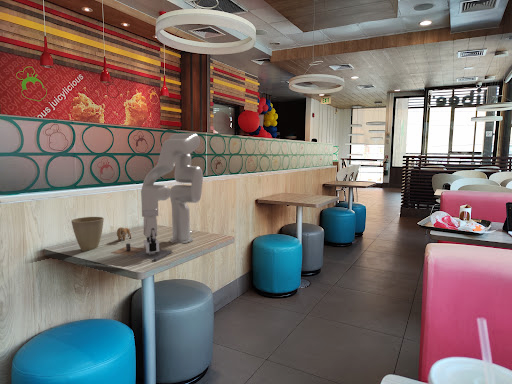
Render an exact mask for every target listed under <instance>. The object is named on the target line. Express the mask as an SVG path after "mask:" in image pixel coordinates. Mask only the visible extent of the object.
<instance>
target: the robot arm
mask: <svg viewBox="0 0 512 384" xmlns="http://www.w3.org/2000/svg"><path fill="white" fill-rule="evenodd" d="M200 144H201V138H200V136H199V135H198V134H197V133H193V132H192V133H173V134H171V135H170V136H169V139H166V140H164V142H163V143H162V146H161V149H160V154H159V157H158V161H157V164H156V165H155V166H153V168H152V169H150V171H149V172H148V173H147V174H146V176H145V177H144V180H143V183H142V186H141V190H140V195H141V196H140V197H141V200H140V201H141V217H142V218H143V235H144V236H145V237H146V240H149V239H150V243H149V251H150V252H153V251H157V248H156V239H157V237H158V220H157V219H158V218H157V217H158V216H159V201H167V200H168V199H170V203H171V218H172V219H171V222H172V223H171V225H172V237H170V238H169V241H170V243H171V244H173V243H174V244H188V243H191V242H192V241H193V240H194V238H193V237H192V236H191V235H192V234H193V231H192V230H191V228H190V226H191V223H190V208H189V206H188V204H187V203H189V204H190V203H191V204H196V203H199V201H200V200H201V197H202V190H203V180H204V172H203V170H202V168H201V167H200V166H199V165H198V166H197V165H192V156H191V155H192V153H193V152H194V151H196V150H197V149H198V148H199V147H200ZM173 170H174V175H173V176H174V180H175V182H176V183H180V184H177V185H176V184H175V185H173V186H172V187H171V188H170V187H169V186H168V185H163V184H162V185H160V184H155V183H156V181H157V180H158V179H159V178H160V177H162V176H165V175H167V174H169V173H171V172H173ZM182 183H183V184H182ZM189 184H191V185H189Z"/></svg>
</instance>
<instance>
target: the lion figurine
mask: <svg viewBox="0 0 512 384" xmlns="http://www.w3.org/2000/svg"><path fill="white" fill-rule="evenodd" d="M126 236H127V238H128V239H130V240H131V239H132V234H131V232H130V229H129V228H128V227H125V228H124V227H118V228H117V231H116V237H117V239H118V241H119V242H120V241H121V239H122V241H123V242H124V241H125V240H126Z"/></svg>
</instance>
